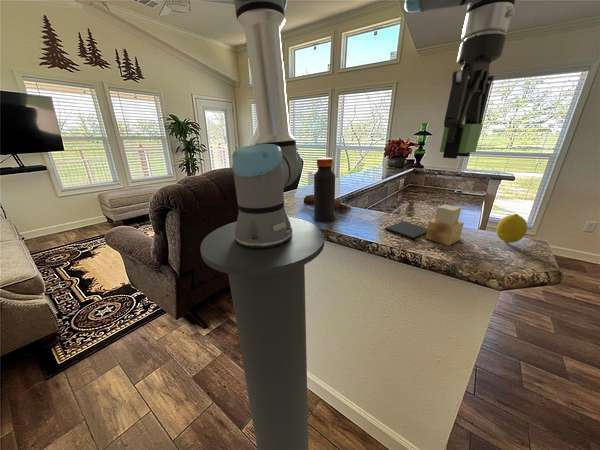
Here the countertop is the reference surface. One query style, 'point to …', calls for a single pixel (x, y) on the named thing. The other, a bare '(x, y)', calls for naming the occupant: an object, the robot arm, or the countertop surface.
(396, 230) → the coaster
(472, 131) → the green block
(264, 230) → the robot arm
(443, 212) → the cream block
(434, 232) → the maple block
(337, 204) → the sunglasses case
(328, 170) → the bottle
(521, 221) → the lemon
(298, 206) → the countertop surface
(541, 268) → the countertop surface
